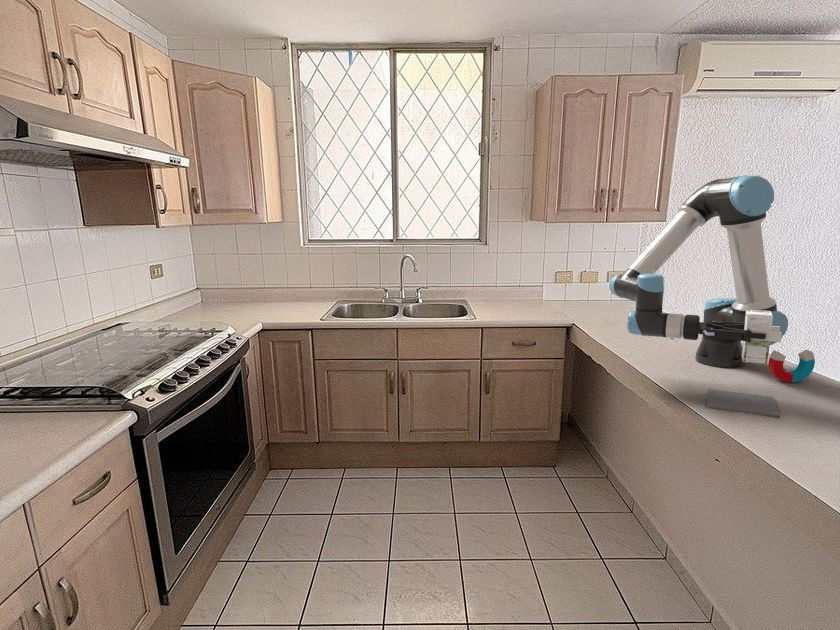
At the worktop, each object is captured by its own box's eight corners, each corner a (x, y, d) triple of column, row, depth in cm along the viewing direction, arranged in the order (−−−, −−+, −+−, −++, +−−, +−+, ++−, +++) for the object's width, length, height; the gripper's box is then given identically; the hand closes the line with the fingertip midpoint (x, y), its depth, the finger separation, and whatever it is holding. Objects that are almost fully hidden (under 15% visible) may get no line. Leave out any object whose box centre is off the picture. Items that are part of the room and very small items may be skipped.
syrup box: (765, 359, 130) (770, 310, 128) (767, 365, 126) (773, 314, 123) (741, 357, 133) (745, 308, 130) (742, 363, 129) (747, 313, 126)
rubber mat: (707, 390, 140) (707, 388, 139) (772, 398, 131) (772, 396, 131) (707, 407, 128) (707, 405, 128) (779, 417, 120) (779, 415, 119)
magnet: (806, 379, 144) (810, 349, 142) (812, 382, 141) (816, 351, 139) (766, 380, 145) (769, 350, 143) (772, 383, 142) (775, 352, 140)
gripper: (685, 331, 146) (776, 339, 133) (679, 346, 131) (781, 356, 118) (687, 308, 145) (779, 314, 132) (680, 321, 130) (784, 328, 117)
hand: (780, 334), depth 125 cm, fingers closed on syrup box, 6 cm apart
